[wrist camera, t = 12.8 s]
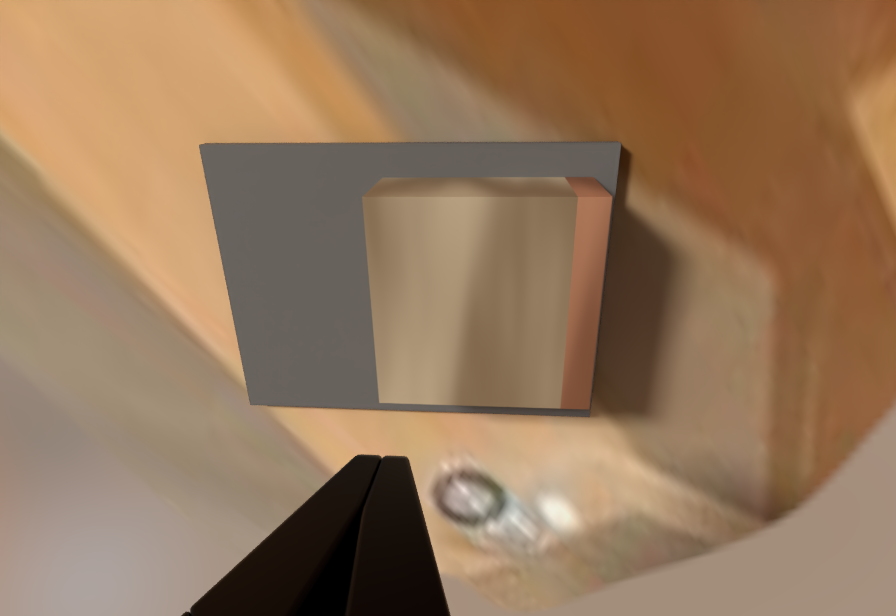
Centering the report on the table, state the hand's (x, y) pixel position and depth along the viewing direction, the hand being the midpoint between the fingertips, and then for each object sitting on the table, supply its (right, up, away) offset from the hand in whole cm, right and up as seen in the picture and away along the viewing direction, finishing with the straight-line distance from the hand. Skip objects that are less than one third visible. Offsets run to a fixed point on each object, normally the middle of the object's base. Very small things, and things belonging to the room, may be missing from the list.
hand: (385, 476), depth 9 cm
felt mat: (0, +3, +8) cm, 9 cm away
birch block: (-1, +3, +7) cm, 8 cm away
